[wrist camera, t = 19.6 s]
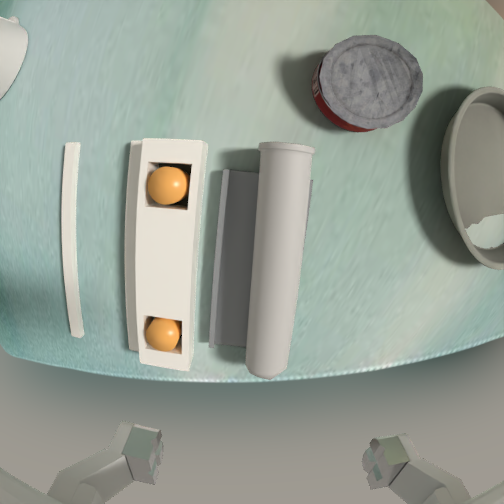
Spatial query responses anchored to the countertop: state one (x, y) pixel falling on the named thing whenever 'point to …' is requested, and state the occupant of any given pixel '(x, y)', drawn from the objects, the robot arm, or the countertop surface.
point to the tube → (277, 254)
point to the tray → (235, 258)
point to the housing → (147, 247)
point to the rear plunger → (164, 333)
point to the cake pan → (475, 167)
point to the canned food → (367, 83)
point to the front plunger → (169, 185)
